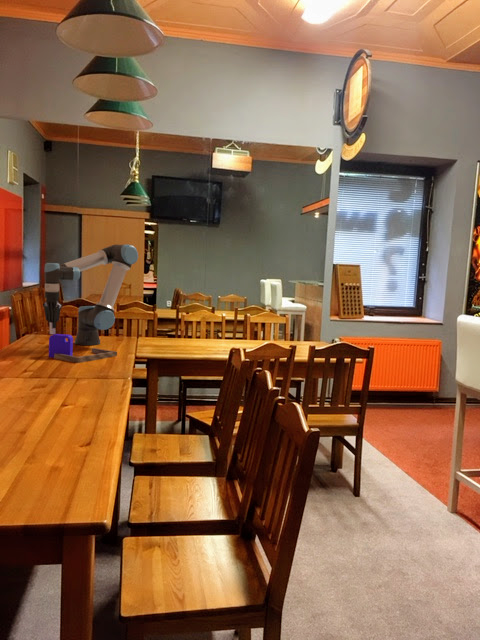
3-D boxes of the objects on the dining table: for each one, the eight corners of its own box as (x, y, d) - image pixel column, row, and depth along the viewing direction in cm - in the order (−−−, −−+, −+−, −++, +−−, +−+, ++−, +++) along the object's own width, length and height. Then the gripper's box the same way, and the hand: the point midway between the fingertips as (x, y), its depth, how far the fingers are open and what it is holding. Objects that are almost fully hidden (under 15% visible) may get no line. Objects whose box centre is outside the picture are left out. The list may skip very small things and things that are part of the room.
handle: (94, 352, 289) (94, 348, 289) (116, 356, 281) (117, 351, 281) (54, 358, 265) (54, 353, 264) (78, 362, 257) (78, 357, 256)
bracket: (69, 358, 268) (70, 335, 267) (48, 357, 268) (49, 334, 267) (79, 352, 286) (80, 331, 285) (60, 351, 286) (60, 330, 285)
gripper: (38, 290, 281) (38, 333, 284) (55, 292, 275) (55, 335, 278) (49, 290, 288) (49, 332, 290) (65, 291, 281) (66, 334, 284)
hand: (52, 333), depth 284 cm, fingers closed
